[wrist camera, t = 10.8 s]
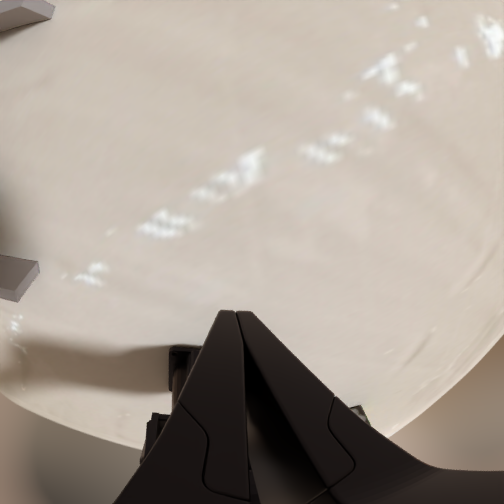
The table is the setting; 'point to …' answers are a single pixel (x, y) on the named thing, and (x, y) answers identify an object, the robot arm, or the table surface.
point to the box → (3, 267)
